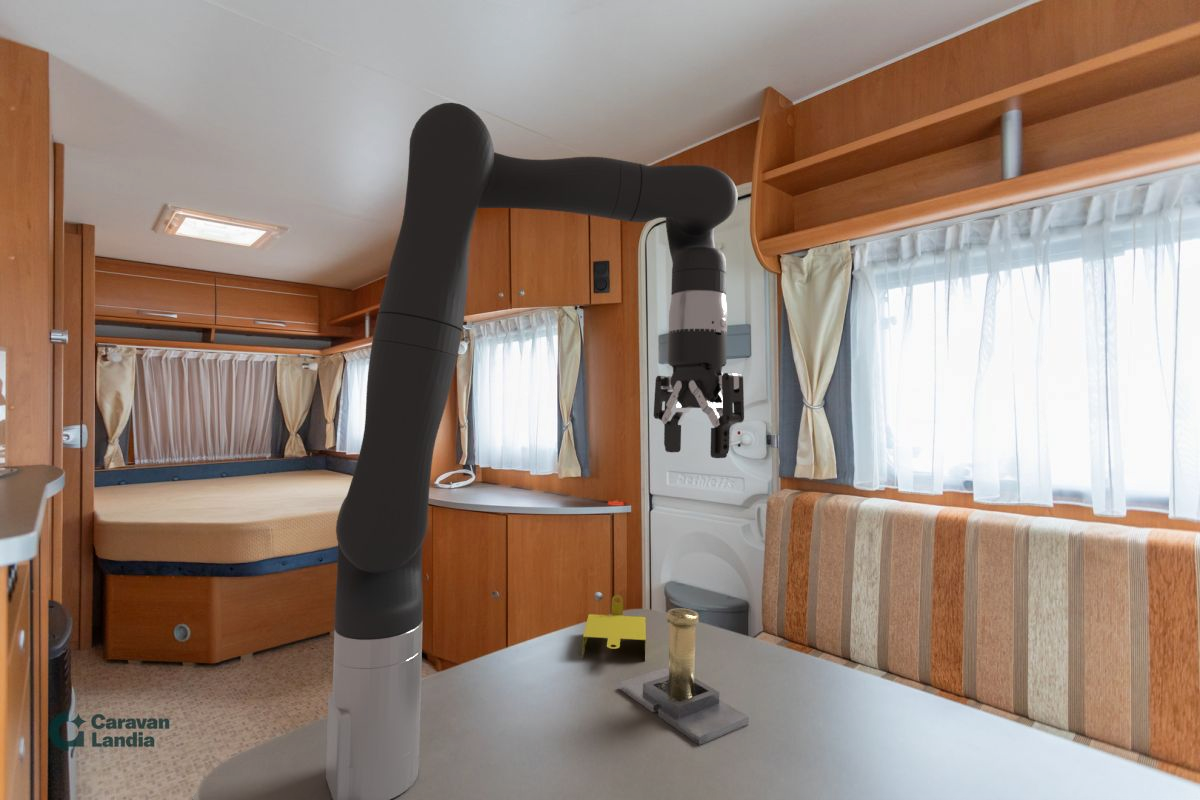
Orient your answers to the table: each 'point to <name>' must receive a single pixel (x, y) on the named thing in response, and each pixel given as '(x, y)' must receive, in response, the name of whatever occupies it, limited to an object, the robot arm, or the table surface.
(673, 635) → the hinge pin
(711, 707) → the grey socket base plate
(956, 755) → the table surface
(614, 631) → the bracket
